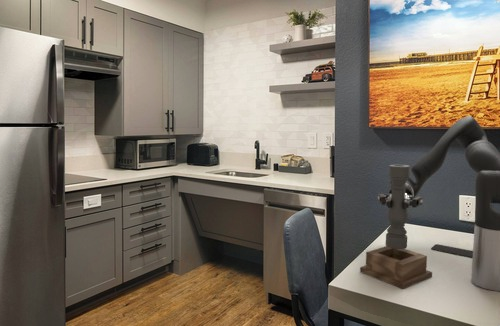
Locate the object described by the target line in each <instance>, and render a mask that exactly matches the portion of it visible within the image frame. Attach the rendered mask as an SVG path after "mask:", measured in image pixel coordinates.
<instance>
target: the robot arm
mask: <svg viewBox="0 0 500 326" xmlns="http://www.w3.org/2000/svg"><path fill="white" fill-rule="evenodd" d="M455 140H456V142H458V144H459V145H460V146H461V148H462V149H464V150H465V153H464V154H465V159H466V161H467V163H468V165H469V167H470V168H471V169H472V170H473V171H474V172H475V173H477V175H476V177H475V178H476V179H475V183H474V184H475V194H474V195H475V196H474V197H475V200H474V201H475V203H474V204H475V206H474V230H473V231H474V232H473V245H472V246H473V248H472V251H473V258H471V259H472V260H471V261H472V263H471V273H470V274H471V277H470V278H471V279H470V281H471V283H472V284H473V285H475V286H476V287H480V288H483V289H484V290H485V289H486V290H490V291H495V292H496V291H497V292H500V212H497V211H496V210H495V209H493V208H492V207H491V204H498V205H499V204H500V152H499V150H498V149H497V148H496V146H495V145H494V144H493V143H492V142H490V141H489V139H488V137H487V134H486V132H485V130H484V129H483V128H482V126H481V125H480V123H478V121H477V120H476V119H475V117H473V116H470V115H469V116H464V117H461V118H460V119H458V120H457V121H455V122H454V123H453V124H452V125H451V126H450V127H449V128H448V129H447V131H446V132H445V133H444V134H443V135H442V136H441V137H440V139H439V140H438V142H436V144H435V145H434V146H433V147H432V148H431V149H430V150H429V152H428V153H427V154H426V155H424V156H423V157H421V159H420V160H418V162H416V163H415V164H414V165H413V166H412V167H411V168H410V169H411V170H410V171H411V173H412V176H414V178H415V182H414V181H413V180H412V178H411V177H410V176H409V177H408V180H407V182H406V185H407V186H408V188H407V189H406V190H405V201H404V209H409V208H410V207H411V208H418V207H420V206H423V201H424V200H423V198H424V197H423V196H421V195H419V196H417V195H418V194H419V193H420V191H421V190H422V188H423V186H424V185H425V183H426V182H427V181H428V179H430V178H432V176H433V175H434V174H436V173H437V171H439V170H440V169H441V167H442V166H443V164H444V162H445V159H446V158H447V154H448V151H449V149H450V147H451V145H452V143H453V142H454V141H455ZM390 184H392V181H391V180H390V182H389V185H390ZM377 193H378V192H377ZM391 196H392V189H391V188H390V189H389V191H388V193H387V194H386V195H385V194H384V193H382V192H379V193H378V194H377V202H378V203H379V204H380V205H383V206H386V207H387V208H388V209H389V208H391Z"/></svg>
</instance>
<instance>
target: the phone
mask: <svg viewBox="0 0 500 326" xmlns="http://www.w3.org/2000/svg"><path fill="white" fill-rule="evenodd" d="M430 250H432V251H434V252H440V253H444V254H450V255H453V256H460V257H464V258H469V259H473V250H471V249H465V248H460V247H455V246H448V245H444V244H439V243H438V244H434V245H432V247H431V248H430Z"/></svg>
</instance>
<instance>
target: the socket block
mask: <svg viewBox="0 0 500 326" xmlns="http://www.w3.org/2000/svg"><path fill="white" fill-rule="evenodd" d="M427 263H428V255H425V254H423V253H420V252H416V251H412V250H409V249H407V248H406V249H393V248H389V247H387V246H386V245H385V246H382V247H378V248H375V249H373V250H369V251H366V253H365V265H363V266H360V268H359V273H362V274H365V275H367V276H370V277H371V278H375V279H376V280H379V281H381V282H382V281H383V282H385V283H387V284H389V285H391V286H394V287H396V288H400V289H402V290H404V289H406V288H409V287H411V286H413V285H416V284H418V283H420V282H422V281H425V280H427V279H430V278H432V277H433V271H432V270H431V271H430V270H428V269H427V265H428V264H427Z"/></svg>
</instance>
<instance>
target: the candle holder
mask: <svg viewBox="0 0 500 326" xmlns="http://www.w3.org/2000/svg"><path fill="white" fill-rule="evenodd" d="M388 167H389V168H388V172H389V173H388V176H389V179H390V181H392V184H390V183H389V188H390V190H391V189H392V196H391V208H388V210H387V213H386V219H387V222H389V224H388V225H389V226H388V228H387V229H386V231H387V233H386V234H385V246H387V247H389V248H393V249H406V250H407V249H408V235H407V233H408V232H407V230H406V228H405V226H406V223H407V222H408V220H409V215H408V213H409V212H408V210H407V209H408V208H407V209H404V201H405V190H406V189H407V188H408V186H407V185H406V182H407V180H408V177H409V178H410V169H411V168H410V165H407V164H389V166H388Z"/></svg>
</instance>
